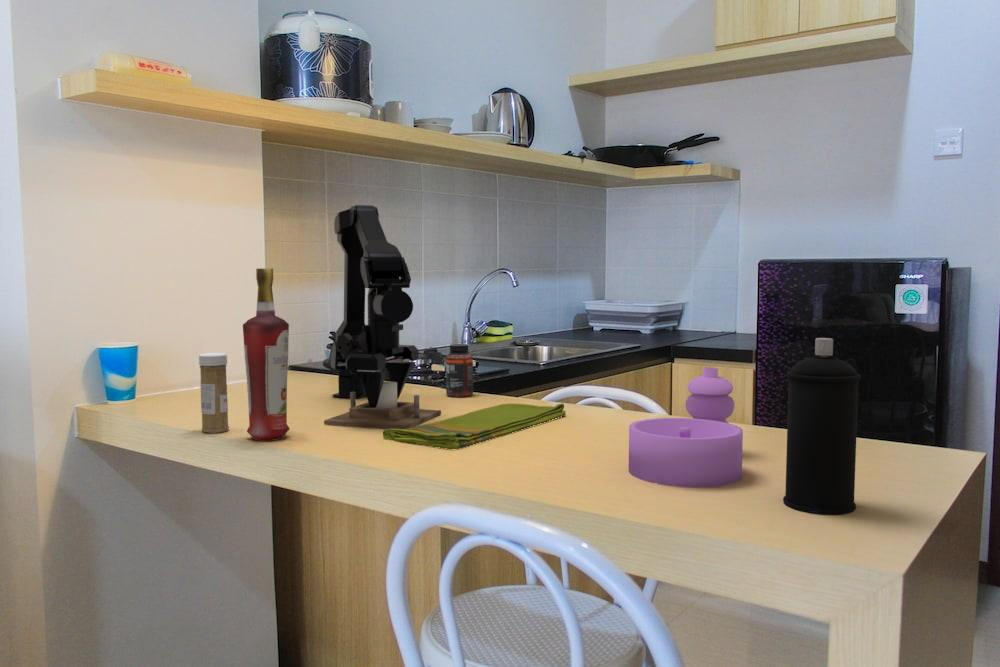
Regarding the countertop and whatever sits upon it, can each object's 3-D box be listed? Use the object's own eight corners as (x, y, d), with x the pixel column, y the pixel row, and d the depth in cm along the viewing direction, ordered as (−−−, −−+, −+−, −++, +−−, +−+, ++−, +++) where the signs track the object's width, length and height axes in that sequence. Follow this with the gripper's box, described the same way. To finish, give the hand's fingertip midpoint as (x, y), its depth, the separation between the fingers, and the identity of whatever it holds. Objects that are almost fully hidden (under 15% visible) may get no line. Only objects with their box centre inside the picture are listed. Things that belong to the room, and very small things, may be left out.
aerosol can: (857, 518, 95) (863, 342, 94) (780, 510, 98) (785, 340, 97) (855, 499, 103) (861, 336, 101) (784, 492, 106) (789, 334, 104)
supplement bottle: (473, 393, 187) (473, 343, 187) (473, 397, 182) (472, 345, 181) (446, 393, 187) (446, 343, 186) (445, 397, 181) (445, 345, 180)
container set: (727, 493, 106) (729, 390, 105) (613, 479, 113) (614, 382, 112) (764, 454, 128) (767, 368, 127) (667, 444, 135) (668, 362, 134)
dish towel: (379, 442, 139) (379, 423, 138) (500, 411, 168) (500, 395, 168) (454, 454, 130) (454, 434, 130) (568, 419, 160) (568, 402, 159)
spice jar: (233, 431, 145) (231, 353, 144) (208, 434, 142) (206, 355, 141) (221, 427, 148) (219, 351, 147) (196, 430, 145) (194, 353, 144)
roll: (378, 412, 159) (378, 380, 159) (401, 413, 158) (401, 381, 157) (366, 416, 154) (366, 383, 154) (390, 418, 153) (390, 384, 152)
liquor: (261, 432, 144) (257, 268, 142) (299, 434, 142) (296, 268, 140) (236, 440, 137) (232, 268, 135) (276, 443, 135) (272, 268, 133)
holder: (365, 410, 166) (365, 385, 166) (441, 414, 161) (440, 389, 161) (324, 424, 151) (324, 398, 151) (406, 430, 146) (405, 402, 146)
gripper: (367, 315, 166) (368, 393, 167) (318, 321, 148) (320, 409, 149) (419, 316, 162) (419, 396, 164) (375, 323, 145) (376, 412, 146)
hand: (384, 403), depth 156 cm, fingers open, 9 cm apart
